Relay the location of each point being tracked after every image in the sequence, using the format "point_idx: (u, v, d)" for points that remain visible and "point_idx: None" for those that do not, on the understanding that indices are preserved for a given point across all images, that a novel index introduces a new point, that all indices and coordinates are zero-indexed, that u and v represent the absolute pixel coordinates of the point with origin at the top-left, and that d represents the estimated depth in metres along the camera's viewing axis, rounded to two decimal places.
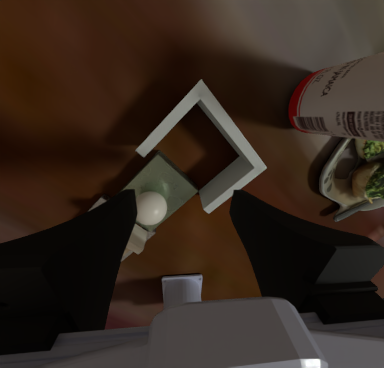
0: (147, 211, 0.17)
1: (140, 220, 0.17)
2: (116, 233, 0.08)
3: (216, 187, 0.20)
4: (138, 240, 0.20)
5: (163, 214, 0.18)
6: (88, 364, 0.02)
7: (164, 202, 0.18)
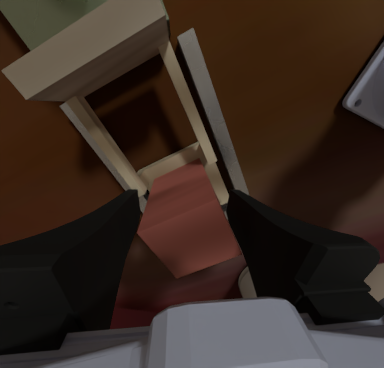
0: None
1: None
2: (120, 233, 0.08)
3: None
4: None
5: None
6: (88, 364, 0.02)
7: None
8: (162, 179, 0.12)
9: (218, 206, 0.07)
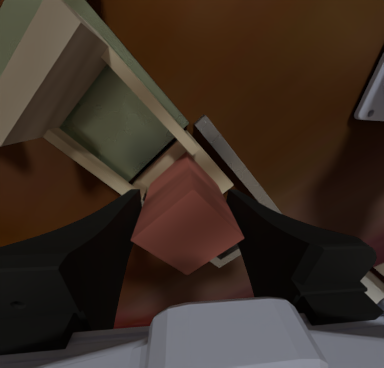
0: None
1: None
2: (123, 233, 0.08)
3: None
4: None
5: None
6: (88, 364, 0.02)
7: None
8: (156, 182, 0.12)
9: (198, 195, 0.07)
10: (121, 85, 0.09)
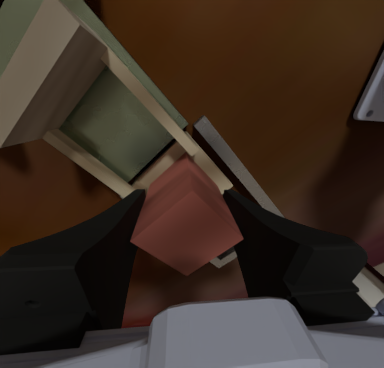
0: None
1: None
2: (130, 233, 0.08)
3: None
4: None
5: None
6: (88, 364, 0.02)
7: None
8: (155, 183, 0.12)
9: (197, 197, 0.07)
10: (120, 86, 0.09)
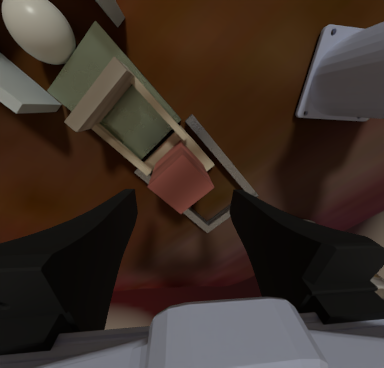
0: None
1: None
2: (116, 233, 0.08)
3: None
4: None
5: (73, 38, 0.12)
6: (88, 364, 0.02)
7: (61, 42, 0.12)
8: (159, 161, 0.17)
9: (185, 158, 0.12)
10: (138, 96, 0.14)
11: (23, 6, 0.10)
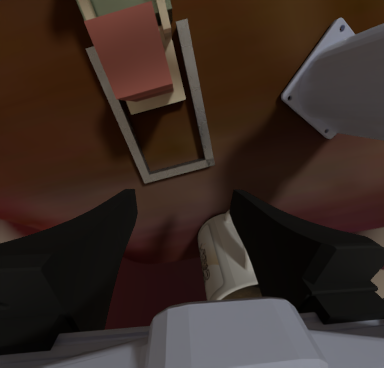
0: None
1: None
2: (116, 233, 0.08)
3: None
4: None
5: None
6: (88, 364, 0.02)
7: None
8: None
9: (153, 10, 0.09)
10: None
11: None
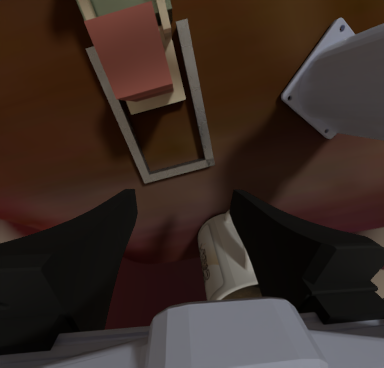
0: None
1: None
2: (116, 233, 0.08)
3: None
4: None
5: None
6: (88, 364, 0.02)
7: None
8: None
9: (153, 10, 0.09)
10: None
11: None
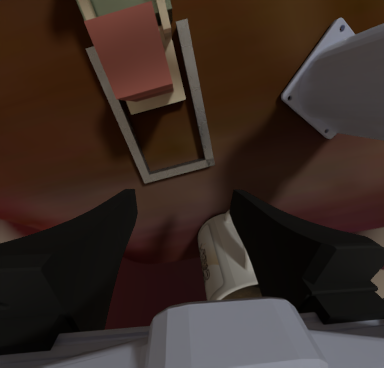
0: None
1: None
2: (116, 233, 0.08)
3: None
4: None
5: None
6: (88, 364, 0.02)
7: None
8: None
9: (153, 10, 0.09)
10: None
11: None
